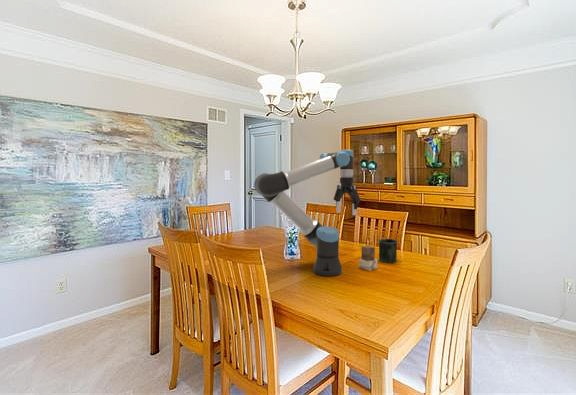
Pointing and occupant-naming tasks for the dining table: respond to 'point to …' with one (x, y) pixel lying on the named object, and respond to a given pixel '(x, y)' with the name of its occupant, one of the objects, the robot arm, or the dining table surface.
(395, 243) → the mug
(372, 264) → the pale grey block
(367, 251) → the walnut block
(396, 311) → the dining table surface
